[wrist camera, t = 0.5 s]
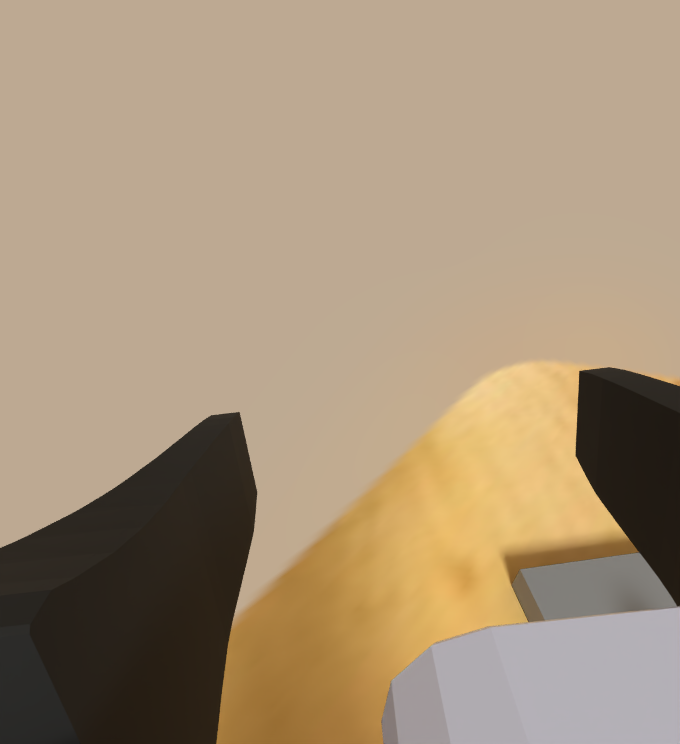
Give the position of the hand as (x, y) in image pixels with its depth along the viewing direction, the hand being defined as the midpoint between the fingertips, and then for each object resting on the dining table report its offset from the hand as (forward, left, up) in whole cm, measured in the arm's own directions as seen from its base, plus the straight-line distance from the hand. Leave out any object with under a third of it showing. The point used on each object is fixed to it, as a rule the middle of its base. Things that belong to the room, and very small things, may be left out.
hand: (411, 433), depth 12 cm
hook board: (-1, -16, -18) cm, 24 cm away
